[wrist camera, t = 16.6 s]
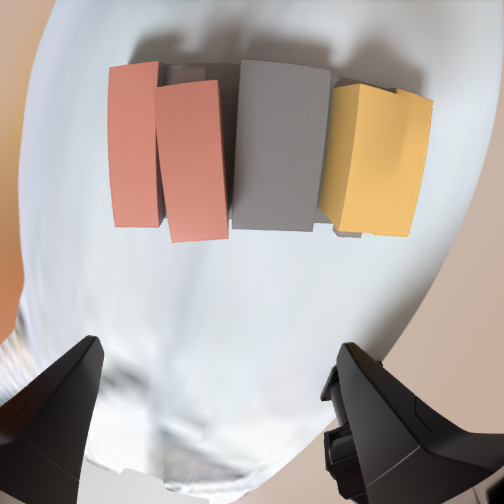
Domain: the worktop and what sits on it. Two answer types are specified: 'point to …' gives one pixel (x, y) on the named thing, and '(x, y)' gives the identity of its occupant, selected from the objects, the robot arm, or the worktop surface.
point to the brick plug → (192, 156)
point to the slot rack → (251, 144)
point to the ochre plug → (362, 158)
